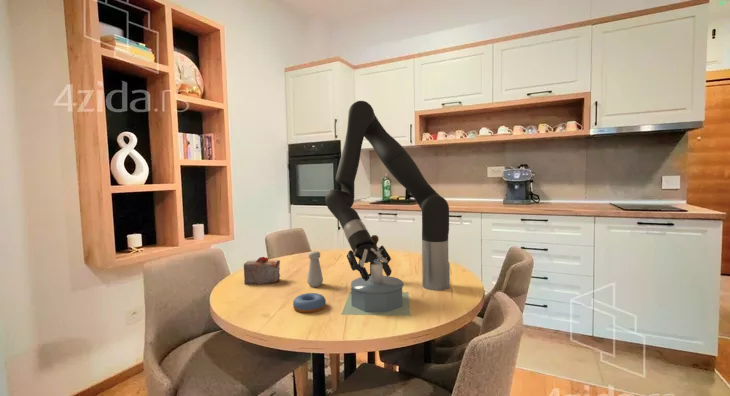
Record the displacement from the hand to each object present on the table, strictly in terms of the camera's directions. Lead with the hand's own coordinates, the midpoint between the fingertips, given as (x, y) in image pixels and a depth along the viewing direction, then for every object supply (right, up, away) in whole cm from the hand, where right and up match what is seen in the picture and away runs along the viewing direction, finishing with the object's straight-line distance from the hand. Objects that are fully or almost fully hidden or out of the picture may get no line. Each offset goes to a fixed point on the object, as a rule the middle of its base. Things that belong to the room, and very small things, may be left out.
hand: (378, 277), depth 108 cm
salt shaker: (-23, -8, +20) cm, 32 cm away
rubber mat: (0, -9, +1) cm, 9 cm away
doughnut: (-21, -10, -1) cm, 24 cm away
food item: (-44, -9, +28) cm, 53 cm away
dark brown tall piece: (0, -8, +24) cm, 26 cm away
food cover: (0, -8, +1) cm, 8 cm away
